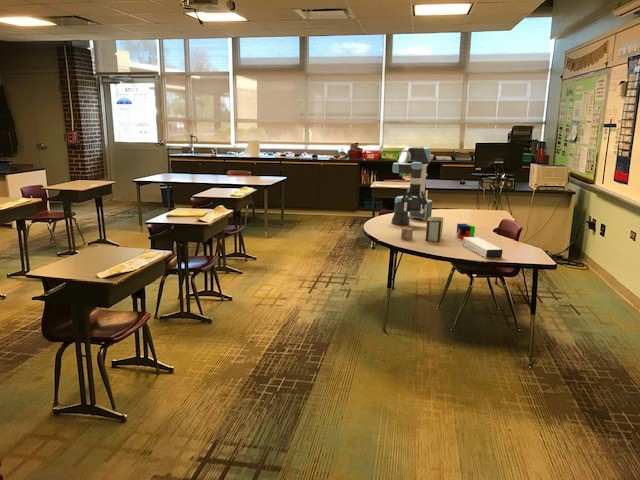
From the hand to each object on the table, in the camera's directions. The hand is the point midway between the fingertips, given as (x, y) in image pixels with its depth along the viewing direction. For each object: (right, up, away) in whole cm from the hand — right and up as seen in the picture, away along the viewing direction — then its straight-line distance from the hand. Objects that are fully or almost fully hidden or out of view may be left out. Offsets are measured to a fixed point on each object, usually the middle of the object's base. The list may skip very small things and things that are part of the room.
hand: (413, 212), depth 368 cm
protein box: (+16, -20, +4) cm, 26 cm away
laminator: (+41, -29, -26) cm, 57 cm away
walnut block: (-5, -20, +3) cm, 20 cm away
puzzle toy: (+41, -19, +11) cm, 47 cm away
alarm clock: (+21, -2, +77) cm, 80 cm away
